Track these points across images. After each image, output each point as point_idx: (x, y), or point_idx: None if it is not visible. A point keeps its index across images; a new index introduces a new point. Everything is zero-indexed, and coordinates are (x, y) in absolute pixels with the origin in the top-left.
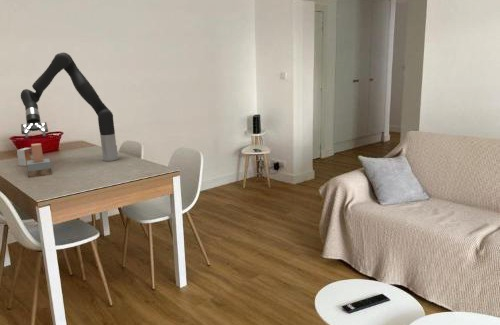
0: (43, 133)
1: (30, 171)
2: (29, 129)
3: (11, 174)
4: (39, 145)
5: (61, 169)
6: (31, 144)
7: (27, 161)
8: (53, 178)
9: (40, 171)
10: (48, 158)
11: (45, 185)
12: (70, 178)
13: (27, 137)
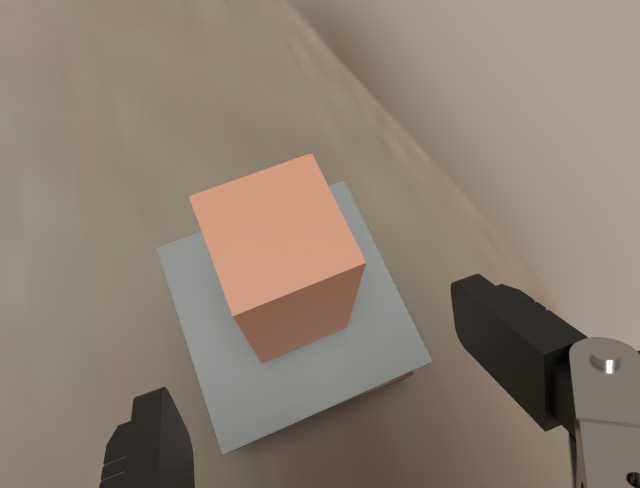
0: (135, 445)
1: None
2: (581, 480)
3: None
4: (214, 191)
5: None
6: (348, 236)
7: (406, 323)
8: (146, 156)
9: None
10: (219, 428)
11: (159, 21)
12: (27, 129)
13: (465, 278)
